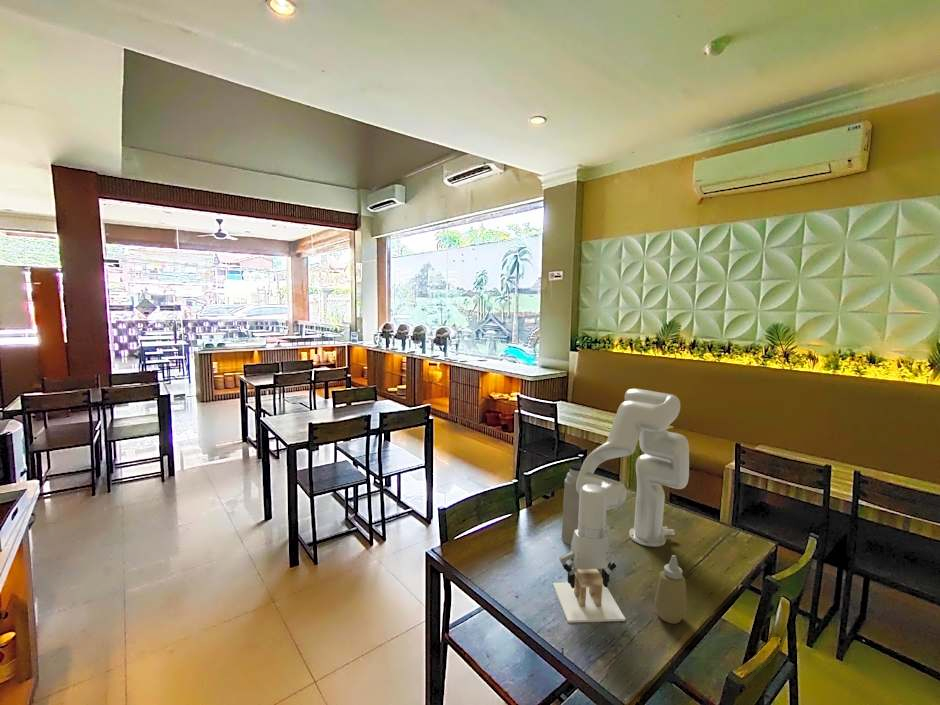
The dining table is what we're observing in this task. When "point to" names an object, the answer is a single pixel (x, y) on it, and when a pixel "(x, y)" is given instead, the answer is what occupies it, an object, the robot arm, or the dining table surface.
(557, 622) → the dining table surface
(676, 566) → the squeeze bottle
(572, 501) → the thermos bottle
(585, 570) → the stool
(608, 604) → the mat
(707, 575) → the dining table surface
